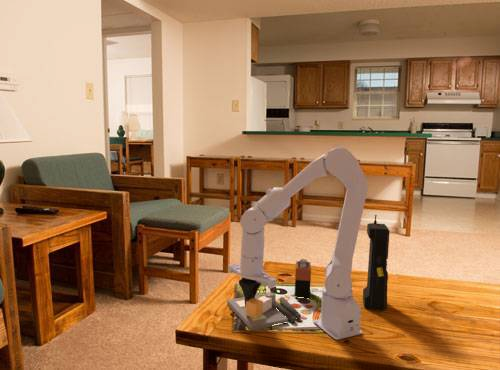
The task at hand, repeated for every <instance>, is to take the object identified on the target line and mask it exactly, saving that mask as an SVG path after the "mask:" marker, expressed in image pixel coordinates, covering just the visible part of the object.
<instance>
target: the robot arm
mask: <svg viewBox="0 0 500 370" xmlns="http://www.w3.org/2000/svg"><path fill="white" fill-rule="evenodd" d="M329 173H330V174H331V175H333V176H334V177H335V178H337V179H338V180H340V182H341V184H342V185H343V186H344V187H345V189H346V191H345V196H344V202H343V206H342V210H341V215H340V218H339V219H340V221H339V223H338V229H337V233H336V238H335V239H336V240H335V245H334V249H333V252H332V256H331V259H330V261H329V263H327V264H326V267H325V271H324V274H325V278H324V279H325V280H324V286H323V287H322V289H321V290H322V291H321V307H320V308H321V309H320V310H321V311H320V318H318V319H314V320H313V323H314V324H315V323H316V324H317V325H318V326H317V325H316V324H315V325H316V326H317V327H318V328H320V329H321V330H322V331H324V332H325V333H326V334H328V335H329V336H330V337H332V338H333V339H334V340H336V341H338V340H341V339H347V338H350V337H353V336H359V335H362V334H363V330H361V318H362V307H361V305H360V304H359V303H358V302H357V301H356V299H355V298H354V296H353V295H354V294H353V293H354V292H353V282H352V276H351V274H352V268H353V257H354V254H355V248H356V246H357V245H356V244H357V240H358V236H359V232H360V231H359V230H360V226H361V221H362V216H363V213H364V212H363V211H364V209H365V203H366V198H367V193H368V190H369V184H368V180H367V179H366V176H365V173H364V171H363V170H362V168H361V165H360V163H359V160H358V159H357V158H356V157H355V156H354V155H353V153H352V152H351V151H349V150H348V149H347V148H345V147H344V146H335V147H332V148H331V149H330V150H329V151H327V153H324V154H322V155H320V156H319V157H318V158H316V159H314V160H311V162H310V163H309V164H307V165H306V166H305V167H304V168H303V169H302V170H301V171H299V172H298V173H297V174H296V175H295V176H294V177H292V179H291V180H290V181H288V183H285V185H284V186H282V187H279V186H276V187H273V188H272V189H271V188H269V189H267V190H266V191H265V195H263V197H261V198H260V199H259V200H258V201H257V202H256V201H254V202H253V203H252V204H251V206H252V207H250V208H248V209H247V210H245V211H244V213H243V214H242V215H241V218H240V221H239V222H240V223H239V224H240V227H241V228H242V231H241V233H242V234H241V235H242V236H241V246H240V264H237V263H232V264H228V266H227V268H228V269H227V272H228V273H229V274H234V275H235V274H236V275H238V276H240V277H242V278H241V279H239V280H238V285H239V287H240V288H241V290H242V294H243V297H245V307H246V301H248V300H250V299H252V298H255V295H257V293H258V290H259V289H260V287H261V285H264V286H266V287H267V288H268V289H273V288H275V287H277V278H275V277H272V276H271V275H270V274H268V273H266V272H265V271H264V270H265V269H264V253H265V251H264V250H265V226H266V225H267V223H268V222H271V221H273V220H274V219H275V218H276V217H277V216H279V214H281V213H283V211H285V209H287V208H288V207H289V206H290V205H291V198H292V197H293V196H294V195H296V194H297V193H299V191H301V190H303V188H304V187H306V186H307V185H308V184H310V183H311V182H312V181H314V180H315V179H317V178H323V177H324V178H325V177H328V174H329Z"/></svg>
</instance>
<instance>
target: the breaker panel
mask: <svg viewBox="0 0 500 370" xmlns="http://www.w3.org/2000/svg"><path fill="white" fill-rule="evenodd" d="M262 296H263V295H261V294H256V295H255V298H256V299H258V298H260V297H262ZM226 304H227V306H228V307H229V308H230V309H231V310H232V311H233V312H234V314H235V315H236V316H237V317H238V318H239V319H240V320H241V321H242V322H243V323H244V324H245V325H246V326H247V328H248V329H249V330H250V331H251V332H253V331H258V330H263V329H267V328H272V327H271V326H272V325H274V324H278V323H284V322H288V323H289V320H288V318H287V317H285V316H284V315H283V314H282V313H281V312H280V311H278V310H277V309H276V308H277V304H275V307H273V308H270V309H269V310H267V311H266V312H264V313H262V315H261V316H259V317H257V318H256V319H255V318H253V317H250V316H247V315H246V307H245V297H244V296H243V297H236V298H232V299H227V300H226Z"/></svg>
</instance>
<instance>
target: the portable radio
mask: <svg viewBox="0 0 500 370" xmlns="http://www.w3.org/2000/svg"><path fill="white" fill-rule="evenodd" d="M377 216H378V215H377V214H374V221H373V223H372V222H371V223H367V226H366V228H367V229H366V232H367V233H366V234H367V236H368V239H369V250H368V266H367V280H366V287H365V288H363V290H362V303H363V307H364V308H365V309H371V310H378V311H379V310H380V311H385V310H386V309H387V308H388V281H389V275H388V274H389V273H388V270H387V269H388V268H387V267H388V261H387V260H388V258H389V248H390V247H389V245H390V234H391V233H390V229H389V227H388V226H387V225H386V224H385V223H377Z"/></svg>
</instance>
